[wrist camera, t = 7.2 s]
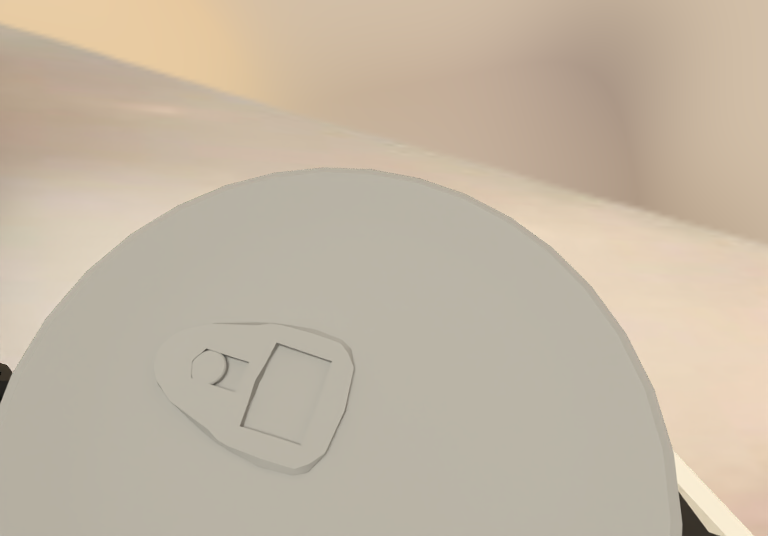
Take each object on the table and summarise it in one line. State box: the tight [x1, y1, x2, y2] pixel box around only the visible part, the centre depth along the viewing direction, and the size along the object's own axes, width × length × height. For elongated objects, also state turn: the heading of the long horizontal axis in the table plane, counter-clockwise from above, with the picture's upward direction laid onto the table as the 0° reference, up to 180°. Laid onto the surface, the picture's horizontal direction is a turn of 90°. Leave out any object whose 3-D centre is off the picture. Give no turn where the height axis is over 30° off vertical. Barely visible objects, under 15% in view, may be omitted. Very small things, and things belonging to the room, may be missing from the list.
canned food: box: [0, 168, 682, 536], centre depth 10 cm, size 8×8×11 cm
